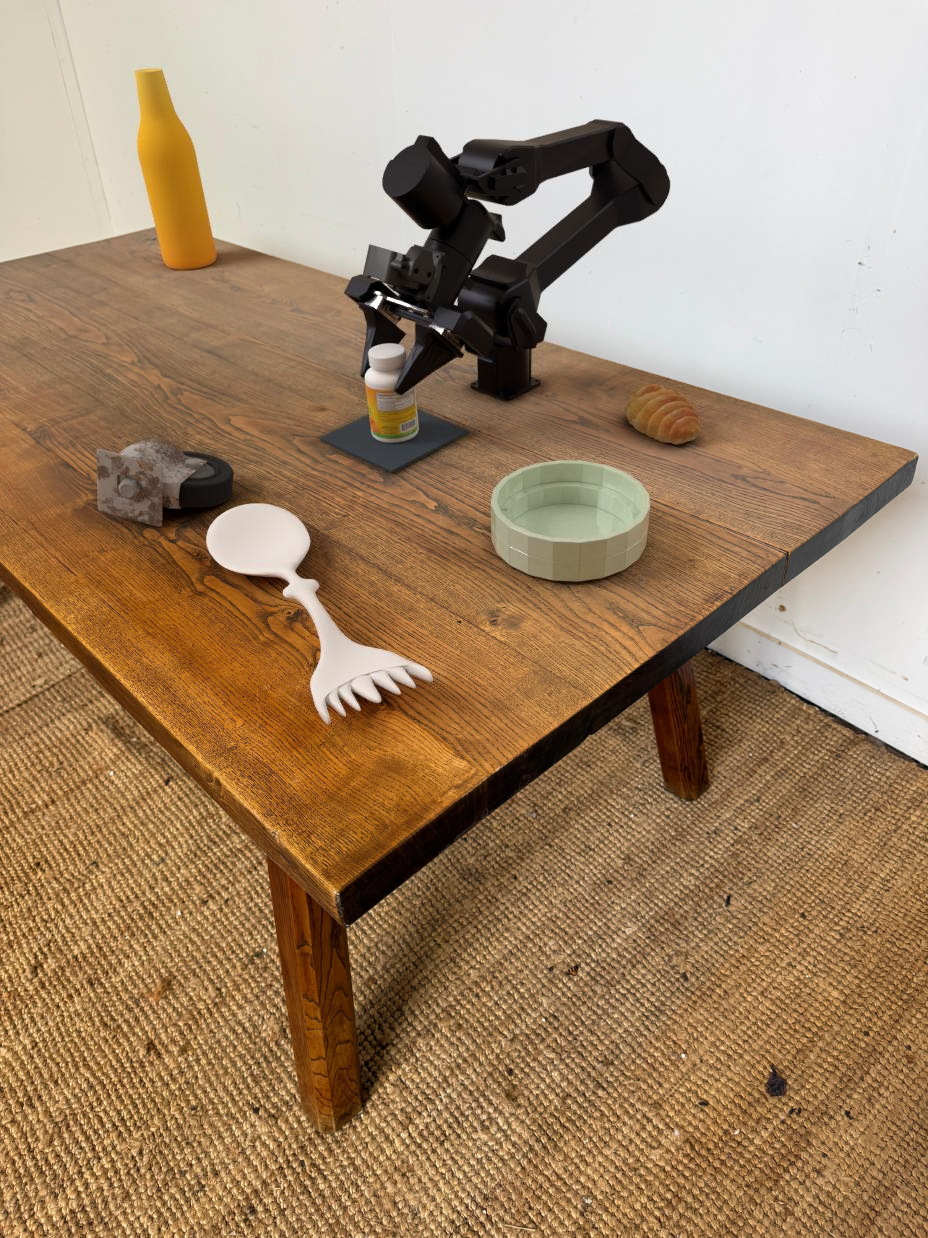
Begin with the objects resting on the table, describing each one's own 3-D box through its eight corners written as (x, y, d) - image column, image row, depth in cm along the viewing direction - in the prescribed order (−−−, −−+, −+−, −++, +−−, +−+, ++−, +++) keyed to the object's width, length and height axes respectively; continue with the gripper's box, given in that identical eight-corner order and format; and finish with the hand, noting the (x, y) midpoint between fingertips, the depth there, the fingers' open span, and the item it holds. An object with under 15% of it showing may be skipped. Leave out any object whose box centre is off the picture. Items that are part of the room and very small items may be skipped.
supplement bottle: (375, 422, 102) (365, 340, 96) (421, 422, 102) (414, 339, 95) (367, 444, 98) (357, 360, 92) (415, 444, 97) (408, 359, 91)
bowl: (556, 485, 90) (557, 445, 87) (675, 534, 82) (680, 492, 79) (461, 544, 82) (459, 503, 79) (582, 605, 74) (585, 561, 72)
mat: (396, 404, 107) (396, 401, 106) (469, 433, 100) (469, 429, 100) (320, 440, 100) (319, 437, 100) (392, 473, 93) (391, 470, 93)
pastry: (715, 439, 96) (720, 407, 94) (664, 454, 94) (668, 421, 92) (665, 406, 103) (668, 375, 101) (616, 420, 101) (618, 389, 99)
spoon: (328, 752, 62) (322, 718, 60) (197, 541, 84) (189, 510, 82) (440, 705, 66) (437, 670, 64) (286, 514, 88) (280, 483, 86)
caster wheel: (243, 502, 95) (203, 542, 86) (143, 476, 95) (94, 513, 87) (247, 444, 91) (206, 479, 83) (144, 418, 92) (93, 449, 83)
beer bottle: (191, 273, 150) (147, 75, 132) (153, 266, 154) (104, 73, 136) (228, 257, 156) (191, 66, 138) (190, 251, 160) (149, 64, 142)
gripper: (346, 195, 93) (278, 328, 94) (469, 225, 82) (390, 375, 83) (409, 254, 102) (345, 375, 103) (527, 288, 91) (455, 423, 92)
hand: (380, 385), depth 95 cm, fingers closed on supplement bottle, 5 cm apart
